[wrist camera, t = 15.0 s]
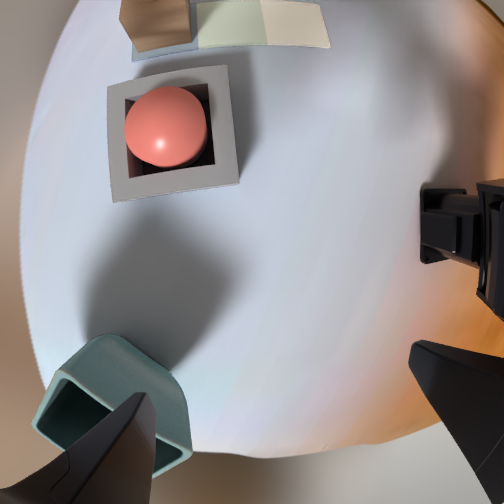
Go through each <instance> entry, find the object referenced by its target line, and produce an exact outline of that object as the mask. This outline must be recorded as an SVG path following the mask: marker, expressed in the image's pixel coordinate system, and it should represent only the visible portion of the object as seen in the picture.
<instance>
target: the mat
mask: <svg viewBox="0 0 504 504" xmlns="http://www.w3.org/2000/svg"><path fill="white" fill-rule="evenodd" d="M190 10H191V33H192V43H187V44H181V45H175V46H169V47H164V48H159V49H155V50H150V51H146V52H142V53H138V51H137V49H136V48H135V46H134V44H133V43H132V62H135V61H139V60H143V59H148V58H152V57H157V56H162V55H167V54H173V53H178V52H185V51H192V50H199V49H208V48H218V47H230V46H251V45H283V46H304V47H316V48H326V49H330V48H331V46H330V42H329V38H328V34H327V31H326V27H325V23H324V20H323V17H322V13H321V10H320V7H319V4H313V3H304V2H294V1H280V0H227V1H213V2H203V3H194V4H190Z"/></svg>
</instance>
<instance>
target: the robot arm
mask: <svg viewBox="0 0 504 504" xmlns="http://www.w3.org/2000/svg"><path fill="white" fill-rule="evenodd" d="M476 185H477V190H478V195H479V196H475V195H467V192H466V190H465V189H422V190H421V192H420V199H421V253H420V260H421V262H422V263H424V264H430V263H434V262H438V261H443V260H447V259H452V260H455V261H458V262H461V263H463V264H466V265H469V266H472V267H474V268H477V269H479V282H478V288H477V292H476V295H477V296H478V297H479V298H480V299H481V300H482V301H483V302H484V303H485V304H486V305H487V306H488V307H489V308H490V309H491V310H492V311H493V313H494V314H495V315H496V316H498V317H499V318H500V319H501V320H502V321H503V322H504V179H497V180H490V181H484V182H478V183H476ZM425 193H426V196H425ZM425 257H426V259H425ZM408 364H409V368H410V369H411V371H412V373H413V375H414V377H415V378H416V380H417V382H418V384H419V386H420V387H421V389H422V391H423V393H424V395H425V396H426V398H427V400H428V401H429V403H430V404H431V405H432V407H433V408H434V410H435V411H436V413H437V414H438V416H439V417H440V419H441V420H442V422H443V423H444V425H445V426H446V428H447V429H448V431H449V432H450V434H451V435H452V437H453V438H454V440H455V441H456V443H457V444H458V446H459V448H460V449H461V451H462V453H463V454H464V456H465V458H466V459H467V461H468V462H469V464H470V466H471V467H472V469H473V471H474V472H475V474H476V476H477V478H478V480H479V481H480V483H481V485H482V487H483V488H484V490H485V492H486V494H487V496H488V498H489V499H490V501H491V503H492V504H502V503H503V502H504V358H501V357H496V356H491V355H487V354H482V353H477V352H473V351H468V350H464V349H460V348H455V347H451V346H447V345H443V344H439V343H434V342H430V341H426V340H419V341H417V342H414V343H413V344H412V346H411V351H410V356H409V361H408ZM155 445H156V410H155V408H154V406H153V403H152V401H151V399H150V396H149V394H148V393H147V392H134V393H133V394H132V395H131V396H130V397H128V398H127V399H126V400H125V401H124V402H123V403H122V404H120V405H119V406H118V407H117V408H116V409H115V410H113V411H112V412H111V413H110V414H109V415H107V416H106V417H105V418H104V419H103V420H102V421H100V422H99V423H98V424H97V425H96V426H94V427H93V428H92V429H91V430H90V431H88V432H87V433H86V434H85V435H84V436H82V437H81V438H80V439H79V440H78V441H76V442H75V443H74V444H73V445H72V446H70V447H69V448H68V449H67V450H65V451H64V452H63V453H62V454H60V455H59V456H58V457H57V458H55V459H54V460H53V461H51V462H50V463H49V464H47V465H46V466H44V467H43V468H41V469H40V470H38V471H37V472H35V473H33V474H31V475H30V476H28V477H26V478H25V479H23V480H21V481H20V482H18V483H16V484H15V485H12V486H10V487H7V488H3V489H0V504H149V499H150V491H151V483H152V475H153V467H154V460H155Z"/></svg>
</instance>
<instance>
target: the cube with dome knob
mask: <svg viewBox="0 0 504 504" xmlns="http://www.w3.org/2000/svg"><path fill="white" fill-rule="evenodd" d="M119 21H120V22H121V24H122V26H123V27H124V29H125V31H126V33H127V34H128V36H129V38H130V39H131V41H132V43H133V44H134V46H135V48H136V49H137V51H138V53H142V52H146V51H150V50H155V49H159V48H164V47H169V46H175V45H181V44H187V43H192V33H191V10H190V1H189V0H122V2H121V8H120V15H119Z"/></svg>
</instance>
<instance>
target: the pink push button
mask: <svg viewBox="0 0 504 504" xmlns="http://www.w3.org/2000/svg"><path fill="white" fill-rule="evenodd" d="M124 134H125V139H126V143H127V145H128V147H129V149H130V150H131V151H132V153H133V154H134V155H136V156H137V157H138V158H140V159H141V160H143V161H145V162H148V163H150V164H153V165H155V166H158V167H160V168H163V169H168V170H175V169H181V168H184V167H186V166H188V165H190V164H192V163H193V162H194V161H196V160H197V159H198V158H199V157H200V155H201V154H202V153H203V151H204V149H205V147H206V144H207V140H208V130H207V125H206V120H205V115H204V111H203V107H202V105H201V103H200V102H199V100H198V99H197V98H196V97H195V96H194V95H193V94H192V93H190V92H189V91H187V90H185V89H182V88H178V87H172V86H170V87H160V88H156V89H154V90H151V91H149V92H147V93H146V94H144V95H143V96H141V97H140V98H139V99H138V100H137V101H136V102H135V103H134V104H133V106H132V107H131V109H130V111H129V112H128V115H127V117H126V121H125V126H124Z"/></svg>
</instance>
